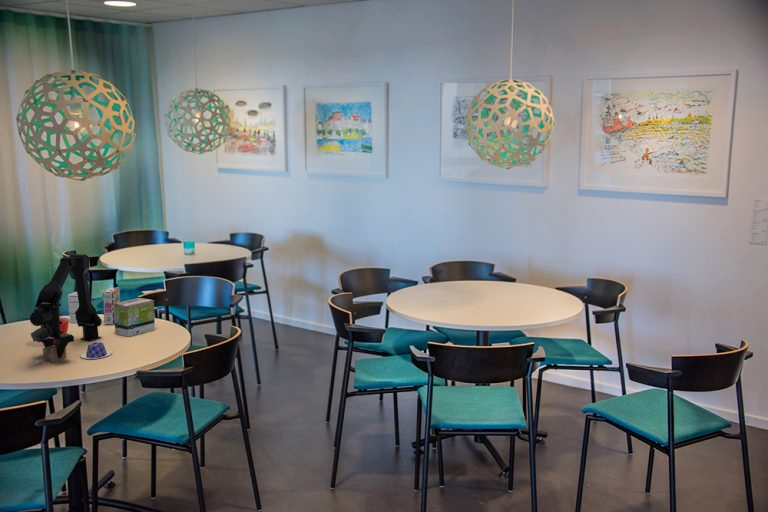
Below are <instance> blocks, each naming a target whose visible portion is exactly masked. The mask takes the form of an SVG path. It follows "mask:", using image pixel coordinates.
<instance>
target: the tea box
mask: <svg viewBox="0 0 768 512" xmlns="http://www.w3.org/2000/svg"><path fill="white" fill-rule="evenodd" d="M114 317H115V325H114V333H115V334H116V335H117V336H118V335H119V336H122V337H127V338H129V337H133V336H136V335H139V334H143V333H148V332H151V331H152V332H153V331H155V330H156V329H155V328H156V327H155V300H153V299H150V298H149V299H148V298H143V297H138V298H133V299H128V300H125V301H120V302H118V303H114Z"/></svg>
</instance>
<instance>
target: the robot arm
mask: <svg viewBox="0 0 768 512" xmlns="http://www.w3.org/2000/svg"><path fill="white" fill-rule="evenodd" d="M90 267H91V266H90V257H89V255H87V254H85V253H84V254H83V253H82V254H80V253H78V254H77V253H76V254H75V253H70V254H69V256H63V257H61V258H60V260H59V264H58V266H57V268H56V270H55V271H54V273H53V275H52V278H51V279H50V281H49V283H47V284H45V285H44V286H43V287H42V289H41V290H40V291H39V294H38V296H37V299H36V303H35V305H34V309H33V312H32V313H31V314H30V317H29V322H30V323H31V324H32V325H33V326H35V327H39V328H37V329H36V330H34V331H32V332H31V333H30V337H31V339H32V341H33V342H37V343H41V344H42V345H43V346H44V347H43V348H45V347H48V346H52V345H55V346H56V349H57V355H58V358H61V357H62V355H63V352H64V350H65V348H67V346H68V345H69V343H72V342H75V336H74V335H73V334H70V333H64V330H61V325H62V324H63V320H61V318H60V307H62V304H61V303H60V301H61V300H62V297H63V294H64V293H63V287H64V285H65V283H66V280H67V279H68V277H69V274H70V273H72V274H73V275H74V282H75V287H76V288H75V289H76V292H77V295H78V302H79V307H78V309H77V311H75V315H76V320H77V323H76V324H77V326H78V327H79V328H80V327H82V337H81V338H80V339H79V340H81V341H84V342H85V341H86V342H91V341H96V340H100V339H101V338H102V336H100V335H99V329H98V327H101V326H102V318H101V317H100V316H99V315H98V312H97V309H96V307H95V306H94V305H93V304H92V301H91V295H90V294H91V293H90V287H89V281H88V273H87V272H88V271H89V269H90ZM40 326H41V327H40Z"/></svg>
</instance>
